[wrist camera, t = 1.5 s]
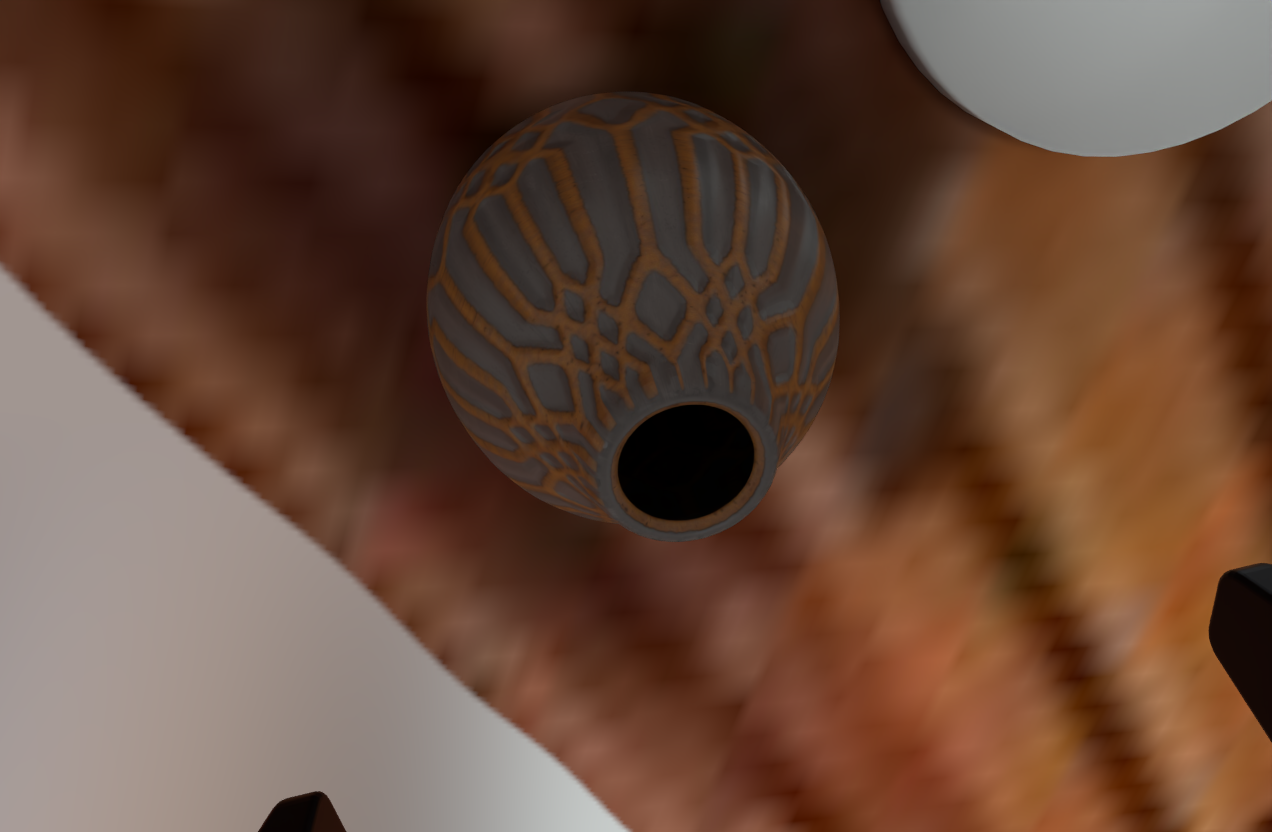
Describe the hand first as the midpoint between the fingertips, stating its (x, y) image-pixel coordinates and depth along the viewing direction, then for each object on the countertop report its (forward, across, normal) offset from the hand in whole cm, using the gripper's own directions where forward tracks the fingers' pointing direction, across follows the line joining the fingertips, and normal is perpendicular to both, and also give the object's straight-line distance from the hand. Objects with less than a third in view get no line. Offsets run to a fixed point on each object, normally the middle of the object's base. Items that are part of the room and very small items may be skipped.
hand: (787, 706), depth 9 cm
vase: (+12, 0, 0) cm, 13 cm away
